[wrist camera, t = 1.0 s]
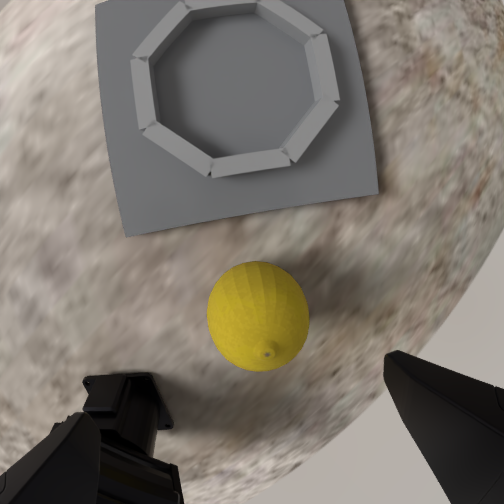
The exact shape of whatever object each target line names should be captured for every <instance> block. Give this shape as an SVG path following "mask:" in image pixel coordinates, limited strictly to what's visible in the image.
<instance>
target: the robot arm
mask: <svg viewBox="0 0 504 504" xmlns="http://www.w3.org/2000/svg"><path fill="white" fill-rule="evenodd" d="M383 377H384V381H385V384H386V386H387V388H388V390H389V392H390V395H391V397H392V399H393V401H394V403H395V406H396V408H397V410H398V412H399V414H400V417H401V419H402V421H403V423H404V424H405V426H406V428H407V429H408V431H409V433H410V434H411V436H412V438H413V439H414V441H415V443H416V444H417V446H418V448H419V449H420V451H421V453H422V454H423V456H424V458H425V459H426V461H427V463H428V464H429V466H430V468H431V469H432V471H433V473H434V475H435V476H436V478H437V480H438V482H439V483H440V485H441V487H442V489H443V490H444V492H445V494H446V496H447V497H448V499H449V501H450V503H451V504H504V389H502V388H500V387H497V386H496V387H494V386H493V385H491V384H488V383H485V382H482V381H479V380H476V379H474V378H471V377H468V376H465V375H463V374H460V373H457V372H455V371H452V370H449V369H447V368H444V367H441V366H439V365H436V364H433V363H431V362H428V361H426V360H423V359H420V358H418V357H415V356H413V355H410V354H407V353H405V352H402V351H400V350H395V351H393V352H390V353H387V354H386V355H385V357H384V372H383ZM145 378H147V379H149V380H146V379H145ZM88 382H89V383H88ZM82 383H83V385H84V387H85V389H86V390H87V392H88V394H89V395H88V397H87V400H86V402H85V404H84V406H83V409H82V410H83V411H84V412H76V413H74V414H73V415H71V416H69V415H68V417H67V419H66V421H64V422H63V421H62V423H55V424H54V426H53V428H52V430H51V432H50V434H49V435H48V436H47V437H46V438H44V439H43V440H42V441H41V442H40V443H39V444H37V445H36V446H35V447H34V448H33V449H32V450H30V451H29V452H28V453H27V454H26V455H24V456H23V457H22V458H21V459H20V460H19V461H17V462H16V463H15V464H14V465H13V466H11V467H10V468H9V469H8V470H7V472H4V473H3V474H2V475H1V476H0V504H184V499H183V494H182V489H181V483H180V478H179V472H178V466H176V465H174V464H171V463H170V464H168V463H165V462H163V461H160V460H157V459H155V458H153V453H154V447H155V441H156V435H157V430H167V429H172V428H173V426H174V422H173V420H172V418H171V416H170V414H169V412H168V410H167V408H166V405H165V403H164V401H163V399H162V397H161V394H160V392H159V390H158V388H157V385H156V383H155V381H154V378H153V376H152V375H151V374H149V373H135V374H118V375H101V376H87V377H85V378H84V379H83V382H82Z"/></svg>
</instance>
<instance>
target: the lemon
mask: <svg viewBox="0 0 504 504" xmlns="http://www.w3.org/2000/svg"><path fill="white" fill-rule="evenodd" d="M207 320H208V327H209V331H210V334H211V336H212V339H213V341H214V343H215V345H216V347H217V349H218V350H219V351H220V352H221V354H222V355H223V356H224V357H225V358H226V359H227V360H228V361H230V362H231V363H233V364H234V365H236V366H238V367H240V368H243V369H245V370H249V371H256V372H259V371H269V370H273V369H277V368H279V367H281V366H283V365H285V364H287V363H288V362H289V361H291V360H292V359H293V358H294V357H295V356H296V355H297V354H298V353H299V351H300V350H301V349H302V347H303V345H304V343H305V341H306V339H307V335H308V329H309V311H308V304H307V301H306V298H305V296H304V294H303V291H302V289H301V287H300V286H299V284H298V283H297V282H296V281H295V280H294V278H293V277H292V276H291V275H290V274H289V273H287V272H286V271H284V270H283V269H281V268H280V267H278V266H275V265H273V264H270V263H267V262H258V261H253V262H246V263H242V264H240V265H237V266H235V267H233V268H231V269H230V270H228V271H227V272H226V273H224V274H223V275H222V277H221V278H220V279H219V280H218V281H217V282H216V284H215V286H214V288H213V290H212V292H211V294H210V297H209V301H208V307H207Z"/></svg>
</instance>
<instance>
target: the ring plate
mask: <svg viewBox="0 0 504 504" xmlns="http://www.w3.org/2000/svg"><path fill="white" fill-rule="evenodd" d="M95 21H96V48H97V64H98V77H99V88H100V97H101V106H102V114H103V122H104V129H105V136H106V142H107V149H108V155H109V161H110V166H111V172H112V177H113V182H114V187H115V192H116V197H117V202H118V206H119V211H120V215H121V220H122V224H123V228H124V232H125V236H126V237H130V236H135V235H140V234H145V233H150V232H155V231H160V230H165V229H170V228H175V227H180V226H185V225H190V224H196V223H201V222H206V221H212V220H217V219H223V218H228V217H234V216H240V215H246V214H251V213H257V212H263V211H269V210H275V209H281V208H287V207H294V206H300V205H306V204H313V203H320V202H326V201H333V200H340V199H347V198H354V197H361V196H368V195H376V194H379V192H378V180H377V169H376V160H375V151H374V143H373V136H372V128H371V122H370V115H369V109H368V103H367V97H366V91H365V86H364V81H363V76H362V71H361V66H360V62H359V57H358V53H357V48H356V44H355V40H354V36H353V32H352V28H351V24H350V21H349V17H348V13H347V10H346V6H345V3H344V0H108V1H105V2H102V3H100V4H97V5H95Z"/></svg>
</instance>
